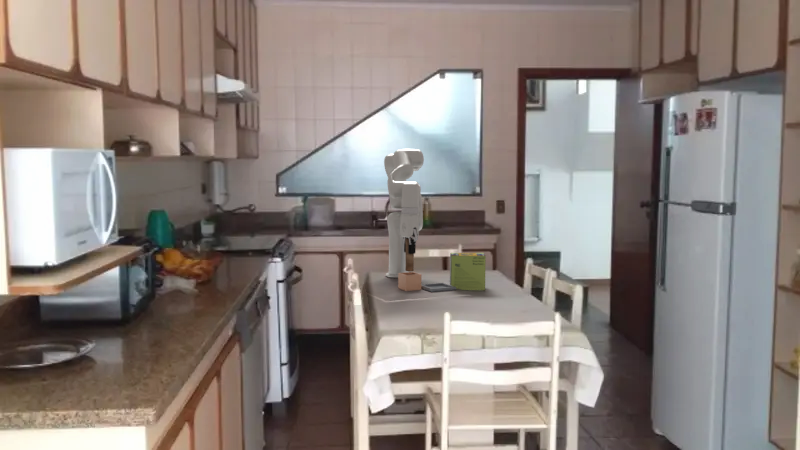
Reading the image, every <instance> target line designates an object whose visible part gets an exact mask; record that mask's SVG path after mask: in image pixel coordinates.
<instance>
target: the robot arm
mask: <svg viewBox="0 0 800 450" xmlns="http://www.w3.org/2000/svg"><path fill="white" fill-rule="evenodd" d="M424 157H425V156H424V153H423V152H422V150H420V149H417V148H416V149H415V148H402V149H401V148H400V149H397V150H395V151H394V152H393V153H390V154H387V155H386V156H384V159H383V160H384V161H383V164H384V166H383V167H384V170H385V174H386V175H387V183H386V184H387V190H388V191H387V192H388V196H389V205H390V207H391V209H393V210H401V211H394V212H391V213H389V214H388V216H387V217H386V221H387V223H386V224H387V231H388V272H386V273H385V277H388V278H392V279H393V278H395V279H398V273H405V272H409V271H405V266H406V239H407V238H409V245H408V253H409V254H414V255H415V254H416V247H417V245H416V244H417V242H418V240H419V238H418V237H419V236H420V235H419V234H420V231H421V230H422V229H423V227H424V213H423V211H424V210H423V198H422V197H423V196H422V193H421V190H422V187H421V185H420V184H419V182H418V181H415V180H414V181H411V180H410V181H409V179H410V178H411V177H413V174H414V172H417V171H419V170H420V169H421V168H422V167H423V166H424V160H425V159H424ZM407 180H408V181H407ZM411 239H412V241H411Z"/></svg>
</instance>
